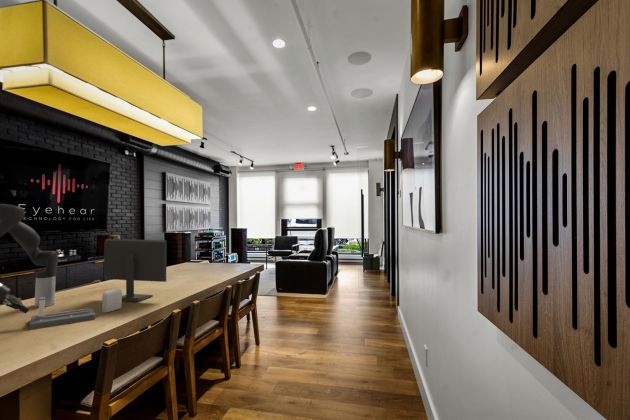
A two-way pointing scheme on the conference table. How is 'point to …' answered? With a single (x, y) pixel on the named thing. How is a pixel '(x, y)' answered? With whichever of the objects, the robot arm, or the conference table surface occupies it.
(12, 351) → the conference table surface
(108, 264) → the computer monitor
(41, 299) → the fader
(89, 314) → the grey slider track board
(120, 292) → the photo printer
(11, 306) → the robot arm
